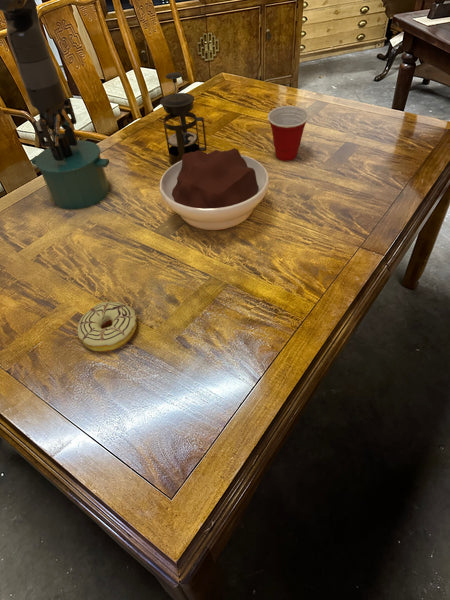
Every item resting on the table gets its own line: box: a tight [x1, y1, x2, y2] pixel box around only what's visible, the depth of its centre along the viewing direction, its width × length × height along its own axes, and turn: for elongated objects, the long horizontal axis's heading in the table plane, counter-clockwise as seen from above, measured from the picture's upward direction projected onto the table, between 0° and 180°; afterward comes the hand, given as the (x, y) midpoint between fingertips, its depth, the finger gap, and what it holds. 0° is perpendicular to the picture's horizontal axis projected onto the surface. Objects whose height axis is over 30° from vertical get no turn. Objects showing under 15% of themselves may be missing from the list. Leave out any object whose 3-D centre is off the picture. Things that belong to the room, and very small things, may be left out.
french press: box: [159, 71, 208, 166], centre depth 112 cm, size 12×9×23 cm
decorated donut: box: [77, 301, 138, 352], centre depth 76 cm, size 10×11×4 cm
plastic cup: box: [267, 105, 310, 162], centre depth 114 cm, size 11×11×12 cm
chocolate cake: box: [158, 147, 270, 231], centre depth 96 cm, size 25×25×15 cm
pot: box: [30, 155, 110, 210], centre depth 107 cm, size 15×20×10 cm
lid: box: [35, 133, 102, 174], centre depth 102 cm, size 16×16×6 cm
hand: (66, 152), depth 103 cm, fingers open, 7 cm apart
